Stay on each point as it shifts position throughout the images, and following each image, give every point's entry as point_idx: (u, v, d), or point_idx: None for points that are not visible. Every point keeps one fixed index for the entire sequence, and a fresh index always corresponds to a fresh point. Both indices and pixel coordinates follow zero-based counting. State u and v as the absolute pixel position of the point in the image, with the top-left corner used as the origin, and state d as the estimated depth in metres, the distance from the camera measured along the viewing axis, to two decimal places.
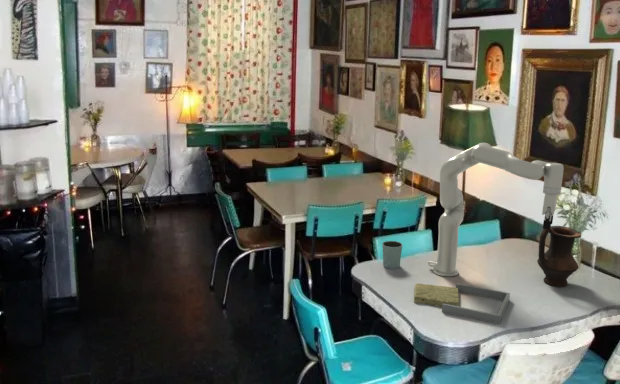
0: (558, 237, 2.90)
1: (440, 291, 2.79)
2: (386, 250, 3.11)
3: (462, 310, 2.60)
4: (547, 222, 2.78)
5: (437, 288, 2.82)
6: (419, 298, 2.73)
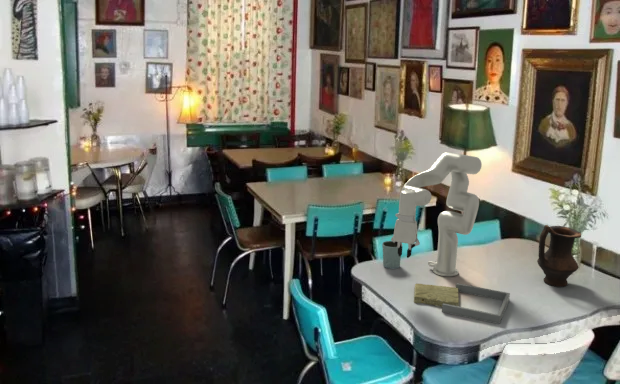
0: (558, 237, 2.90)
1: (440, 291, 2.79)
2: (386, 250, 3.11)
3: (462, 310, 2.60)
4: (411, 250, 2.79)
5: (437, 288, 2.82)
6: (419, 298, 2.73)
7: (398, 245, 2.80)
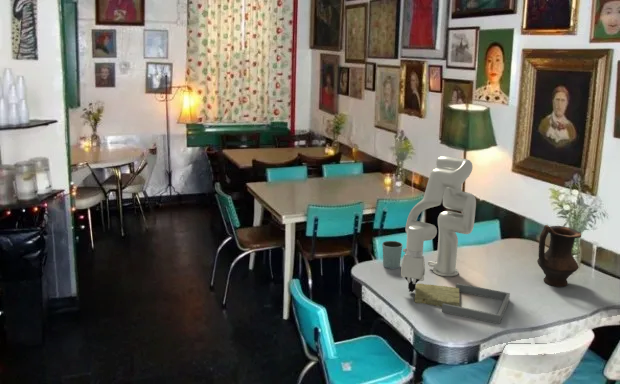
0: (558, 237, 2.90)
1: (441, 291, 2.79)
2: (386, 250, 3.11)
3: (462, 310, 2.60)
4: (415, 284, 2.82)
5: (438, 288, 2.82)
6: (420, 298, 2.73)
7: (409, 280, 2.81)
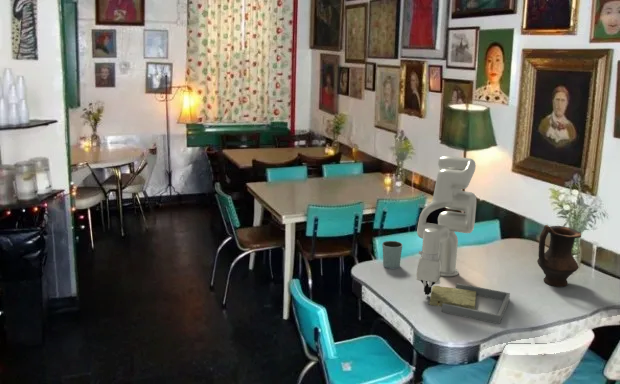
0: (558, 237, 2.90)
1: (457, 294, 2.76)
2: (386, 250, 3.11)
3: (462, 310, 2.60)
4: (431, 287, 2.79)
5: (454, 291, 2.80)
6: (435, 300, 2.71)
7: (424, 283, 2.78)
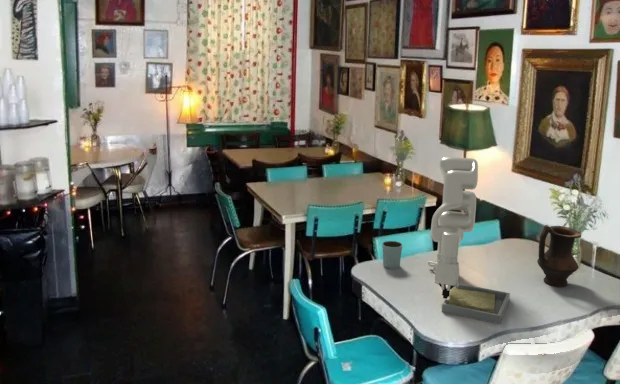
0: (558, 237, 2.90)
1: (476, 297, 2.74)
2: (386, 250, 3.11)
3: (462, 310, 2.60)
4: (449, 291, 2.75)
5: (473, 293, 2.77)
6: (453, 303, 2.69)
7: (443, 287, 2.75)
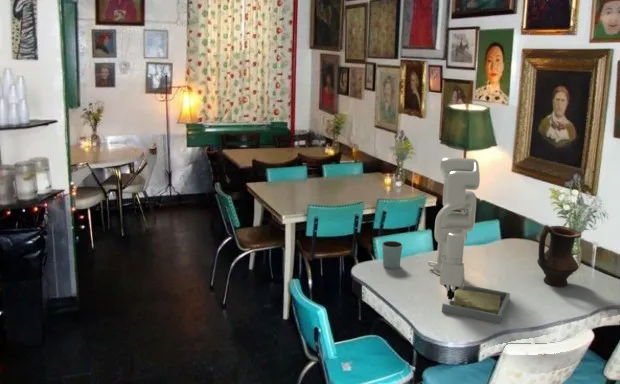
0: (558, 237, 2.90)
1: (481, 298, 2.73)
2: (386, 250, 3.11)
3: (462, 310, 2.60)
4: (454, 292, 2.75)
5: (478, 294, 2.76)
6: (459, 304, 2.68)
7: (448, 288, 2.74)
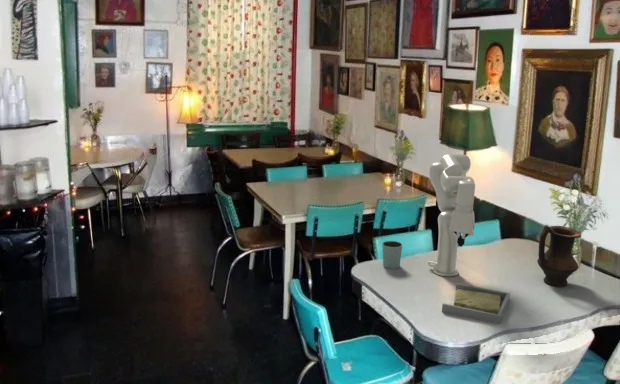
0: (558, 237, 2.90)
1: (481, 298, 2.73)
2: (386, 250, 3.11)
3: (462, 310, 2.60)
4: (464, 239, 2.82)
5: (478, 295, 2.76)
6: (459, 304, 2.68)
7: (458, 235, 2.82)
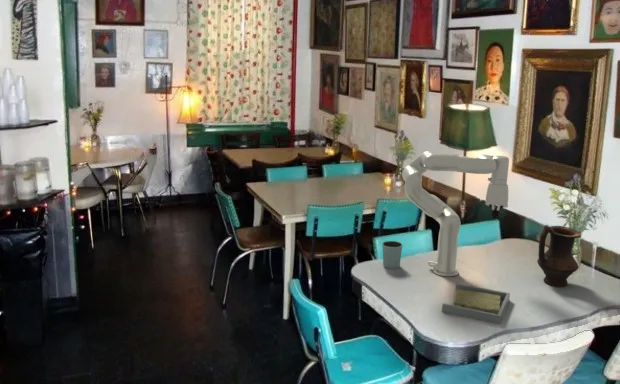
0: (558, 237, 2.90)
1: (481, 298, 2.73)
2: (386, 250, 3.11)
3: (462, 310, 2.60)
4: None
5: (478, 295, 2.76)
6: (459, 304, 2.68)
7: (493, 207, 3.02)
